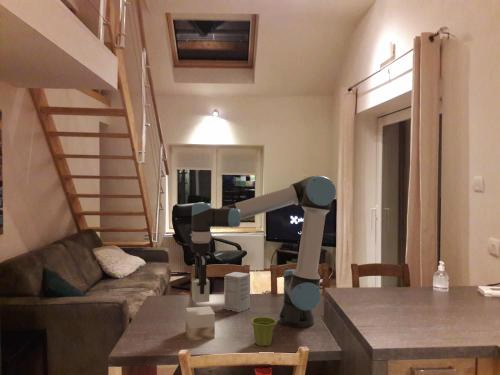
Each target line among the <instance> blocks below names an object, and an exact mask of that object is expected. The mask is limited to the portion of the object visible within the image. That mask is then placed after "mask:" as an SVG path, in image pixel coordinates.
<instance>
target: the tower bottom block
mask: <svg viewBox="0 0 500 375" xmlns="http://www.w3.org/2000/svg"><path fill="white" fill-rule="evenodd" d="M215 328H216V326H215V327H203V328H191V329H189V327H188V324H187V322H186V321H185V334H186V337H187V340H188V341H189V342H193V341H202V340H205V341H206V340H212V339H213V340H214V339H215V334H216V332H215V331H216V329H215Z"/></svg>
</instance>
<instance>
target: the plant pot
mask: <svg viewBox="0 0 500 375" xmlns="http://www.w3.org/2000/svg"><path fill="white" fill-rule="evenodd" d="M251 323H252V327H253V335H254V342H255V344H256V345H257V346H261V347H264V346H267V347H268V346H270V345H272V340H273V335H274V329H275V328H274V327H276V326H275V324H276V323H277V320H276V319H274V318H272V317H268V316H257V317H253V318H252V319H251Z"/></svg>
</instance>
